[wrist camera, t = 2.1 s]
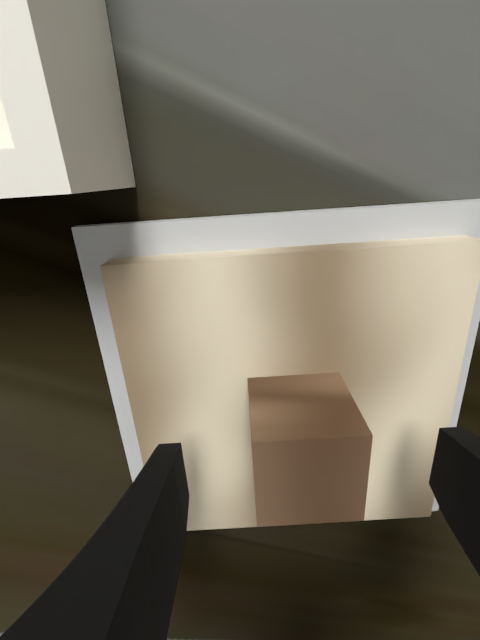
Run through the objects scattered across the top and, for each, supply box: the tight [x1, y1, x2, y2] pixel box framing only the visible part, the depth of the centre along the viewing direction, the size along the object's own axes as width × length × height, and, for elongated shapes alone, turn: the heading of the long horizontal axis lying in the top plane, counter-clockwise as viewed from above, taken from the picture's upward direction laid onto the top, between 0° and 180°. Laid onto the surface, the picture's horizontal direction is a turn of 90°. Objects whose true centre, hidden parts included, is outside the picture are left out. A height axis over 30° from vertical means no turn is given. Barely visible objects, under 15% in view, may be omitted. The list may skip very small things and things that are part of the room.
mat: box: [71, 199, 480, 511], centre depth 13 cm, size 13×13×1 cm
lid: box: [100, 235, 480, 531], centre depth 11 cm, size 11×11×4 cm
